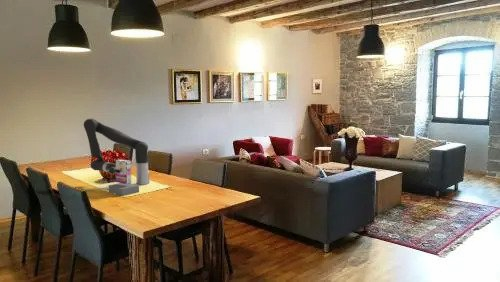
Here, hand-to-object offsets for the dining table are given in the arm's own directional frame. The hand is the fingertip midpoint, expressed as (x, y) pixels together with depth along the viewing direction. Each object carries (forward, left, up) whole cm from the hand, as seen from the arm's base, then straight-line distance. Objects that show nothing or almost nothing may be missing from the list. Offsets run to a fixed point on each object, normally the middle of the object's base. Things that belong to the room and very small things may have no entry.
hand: (123, 171), depth 283 cm
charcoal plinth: (0, 0, -16) cm, 16 cm away
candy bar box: (0, 0, -9) cm, 9 cm away
